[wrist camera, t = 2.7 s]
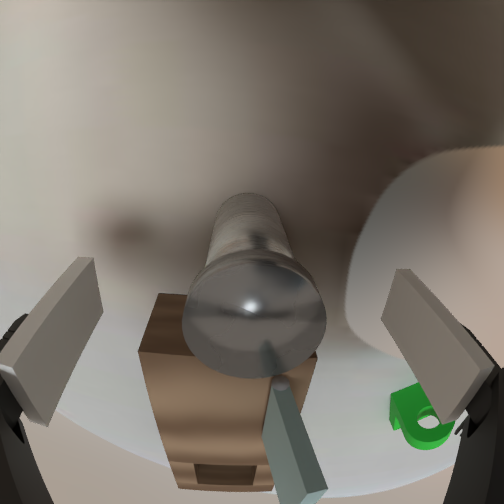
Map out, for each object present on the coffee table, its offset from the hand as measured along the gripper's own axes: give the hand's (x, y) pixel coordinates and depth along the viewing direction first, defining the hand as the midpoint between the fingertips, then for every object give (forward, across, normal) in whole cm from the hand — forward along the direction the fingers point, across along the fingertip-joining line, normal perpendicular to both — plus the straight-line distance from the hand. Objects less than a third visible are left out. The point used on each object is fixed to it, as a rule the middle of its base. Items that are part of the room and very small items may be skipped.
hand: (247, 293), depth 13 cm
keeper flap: (+1, +2, -10) cm, 10 cm away
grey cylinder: (+7, 0, 0) cm, 7 cm away
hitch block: (+8, -1, -16) cm, 18 cm away
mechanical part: (+8, +23, -18) cm, 31 cm away
